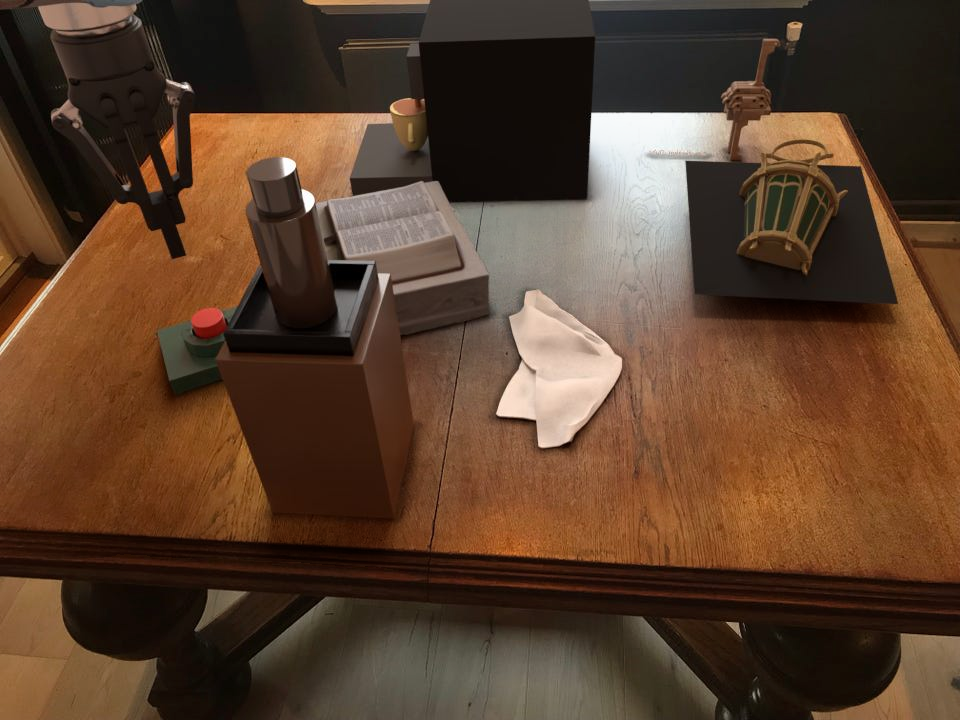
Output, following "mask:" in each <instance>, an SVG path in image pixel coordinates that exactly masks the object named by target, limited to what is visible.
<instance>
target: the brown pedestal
mask: <svg viewBox="0 0 960 720" xmlns="http://www.w3.org/2000/svg"><path fill="white" fill-rule="evenodd" d="M328 262H329V266H330V271H331V275H332V280H333V285H334V289H335V294H336V298H337V303H338V306H337V310H336V312H335V313H334V315H333V316H332V317H331V318H330V319H328V320H327V321H326V322H324V323H322V324H320V325H317V326H314V327H310V328H303V329H297V328H290V327H287V326H284V325H283V324H281V323H280V322H279V321H278V320H277V318H276V316H275V312H274V309H273V305H272V302H271V298H270V295H269V292H268V288H267V285H266V281H265V278H264V274H263V271H262V267H261V264H260V263H259V264H258V266H257V268H256V269H255V272H254V274H253V276H252V278H251V280H250V281H249V284H248V285H247V287H246V290H245V291H244V294H243V295H242V297H241V299H240V301H239V303H238V305H237V308H236V310H235V312H234V314H233V316H232V318H231V320H230V322H229V324H228V325H227V327H226V329H225V331H224V333H223V335H224V338H225V342H224V344H223V346H222V348H221V350H220V352H219V354H218V356H217V358H216V359H215V361H216V363H217V366H218V368H219V371H220V374H221V376H222V381H223V385H224V387H225V390H226V393H227V395H228V397H229V401H230V404H231V405H232V408H233V411H234V414H235V416H236V419H237V421H238V424H239V427H240V430H241V432H242V434H243V438H244V440H245V443H246V445H247V448H248V450H249V453H250V456H251V459H252V462H253V464H254V466H255V469H256V472H257V474H258V477H259V480H260V483H261V486H262V488H263V491H264V493H265V496H266V499H267V502H268V505H269V507H270V510H271V512H272V513H278V514H295V515H296V514H298V515H315V516H316V515H318V516H332V517H333V516H338V517H354V518H356V517H357V518H371V519H392V520H393V519H395V517H396V512H397V508H398V503H399V498H400V494H401V489H402V485H403V481H404V475H405V471H406V465H407V461H408V456H409V452H410V447H411V443H412V438H413V433H414V429H415V423H414V416H413V409H412V404H411V398H410V390H409V384H408V378H407V371H406V365H405V364H406V363H405V358H404V352H403V346H402V339H401V335H400V331H399V325H398V318H397V312H396V305H395V299H394V292H393V286H392V280H391V274H384V273H378V272H377V266H376V261H358V260H328Z"/></svg>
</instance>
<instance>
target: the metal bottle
mask: <svg viewBox="0 0 960 720" xmlns="http://www.w3.org/2000/svg"><path fill="white" fill-rule="evenodd" d="M245 174H246V178H247V182H248V185H249V189H250V193H251V196H252V199H251V200H250V201H249V202H248V203H247V205H246V207H245V215H246V218H247V222H248V226H249V229H250V233H251V236H252V240H253V243H254V246H255V250H256V252H257V257H258V260H259V264H261V267H262V271H263V274H264V278H265V281H266V285H267V288H268V292H269V295H270V298H271V302H272V305H273V309H274V312H275V316H276V318H277V320H278V321H279V322H280V323H281V324H283V325H284V326H287V327H290V328H297V329H303V328H310V327H314V326H317V325H320V324H322V323H324V322H326V321H327V320H328V319H330V318H331V317H332V316H333V315H334V313H335V312H336V310H337V306H338V303H337V298H336V294H335V289H334V285H333V280H332V275H331V271H330V266H329V262H328V257H327V252H326V248H325V243H324V239H323V234H322V229H321V225H320V220H319V216H318V211H317V206H316V203H317V202H316V197H315V196H314V195H313V193H311V192H310V191H309V190H306V189H304V188H302V185H301V180H300V176H299V172H298V167H297V163H296V162H295V161H294V159H292V158H288V157H284V156H282V157H281V156H274V157H273V156H272V157H267V158H263V159H260V160H257V161H255V162H254V163H252V164H251V165H249V166H248V167H247V169H246V172H245Z"/></svg>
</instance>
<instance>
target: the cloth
mask: <svg viewBox="0 0 960 720" xmlns="http://www.w3.org/2000/svg"><path fill="white" fill-rule="evenodd" d="M524 295H525V296H524V301H523V307H522V308H521V310H520V311H519V312H517V313H514V314H512V315H509V316H508V319H509V323H510V328H511V331H512V335H513V336H512V337H513V338H514V341H515V345H516V347H517V351H518V354H519V356H520V357H521V362H520V364H519V366H518V369H517V371H516V372H515V373H514V375H513V376H512V377H511V379H510V380H509V382H508V384H507V385H506V388H505V389H504V391H503V394H502V396H501V398H500V401H499V404H498V407H497V410H496V412H495V415H496V416H497V417H498V418H510V419H514V418H515V419H525V420H529V421H535V422H536V433H537V442H538V443H537V447H538V448H540V449H543V450H544V449H549V448H557V447H560V446H563V445H565V444H566V443H570V442H573V439H574V437H575V435H576V433H577V432H579V431H580V430H581V429H582V427H584V426H585V425H586V424H587V423H588V421H589V420H590V419H591V418H592V416H593V415H594V414H595V412H596V411H597V410H598V409H599V408H600V406H602V404H603V402H604V401H605V399H606V398H607V396H608V395H609V394H610V392H611V390H612V389H613V387H614V386H615V384H616V382H617V380H618V379H619V377H620V375H621V373H622V369H623V357H621V356H620V355H617V354H616V353H615V352H614V350H613V349H612V348H611V346H610V345H609V343H607V342H606V341H605V340H604V339H602V338H601V337H600V336H599V335H598V334H597V333H595V332H594V331H593V330H592V329H590V328H589V327H587V326H586V325H584V324H583V323H581V322H580V321H579V320H578V319H577V318H576V317H575V316H574V315H572V314H570V313H569V312H567V311H565V310H563V309H562V308H560V306H559V305H558V304H557V303H556V302H554V300H553V299H551V298H550V297H549V296H547V295H545V294H543V293H542V291H541V289H540V288H537V289H531V290H527V291H525V294H524Z"/></svg>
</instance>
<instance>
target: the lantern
mask: <svg viewBox="0 0 960 720" xmlns="http://www.w3.org/2000/svg"><path fill="white" fill-rule="evenodd" d="M793 145H794V146H795V145H812V146H815V147H818V148H821V149H822V150H823V152H824V154H822V153H821V151H818V152H816V153H815V155H814V157H812V158H807V159H806V158H805V159H799V158H796V159H789V158H785V157H784V158H783V157H780V156H777V155H775V154H776V152H777V151H779V150H781V149H783V148H785V147H788V146H793ZM834 157H835V154H834V153H832V152H831V153H829V152H828V150H827V148H826V146H825V145H824V144H823V143H821V142H820V141H817V140H814V139H813V140H812V139H802V138H801V139H800V138H799V139H792V140H788V141H785V142H782V143H780V144H778V145H777V146H776V147H775V148H774V149H773V150H772V152H771V153H767V152H764V151H761V154H760V161H761V162H744V161H743V162H741V161H711V160H710V161H709V160H684V162H685V163H684V164H685V177H686V191H687V193H686V194H687V205H688V207H687V208H688V218H689V219H688V220H689V233H690V234H689V236H690V245H691V246H690V248H691V250H690V251H691V265H692V277H693V291H694V295H703V296H721V297H722V296H724V297H742V298H743V297H745V298H762V299H764V298H765V299H781V300H782V299H784V300H801V301H803V300H804V301H821V302H822V301H823V302H824V301H825V302H845V303H863V304H883V305H884V304H885V305H899V300H898V298H897V294H896V291H895V286H894V282H893V279H892V275H891V272H890V268H889V265H888V261H887V258H886V254H885V250H884V246H883V243H882V239H881V235H880V230H879V228H878V224H877V219H876V216H875V213H874V209H873V205H872V202H871V198H870V194H869V191H868V188H867V183H866V180H865V176H864V173H863V168H862V166H861V165H833V164H832V165H831V164H829V165H828V164H819V162H820V161H824V160H826V159H833V158H834ZM768 159H772V160H775V161H773V162H768Z"/></svg>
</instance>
